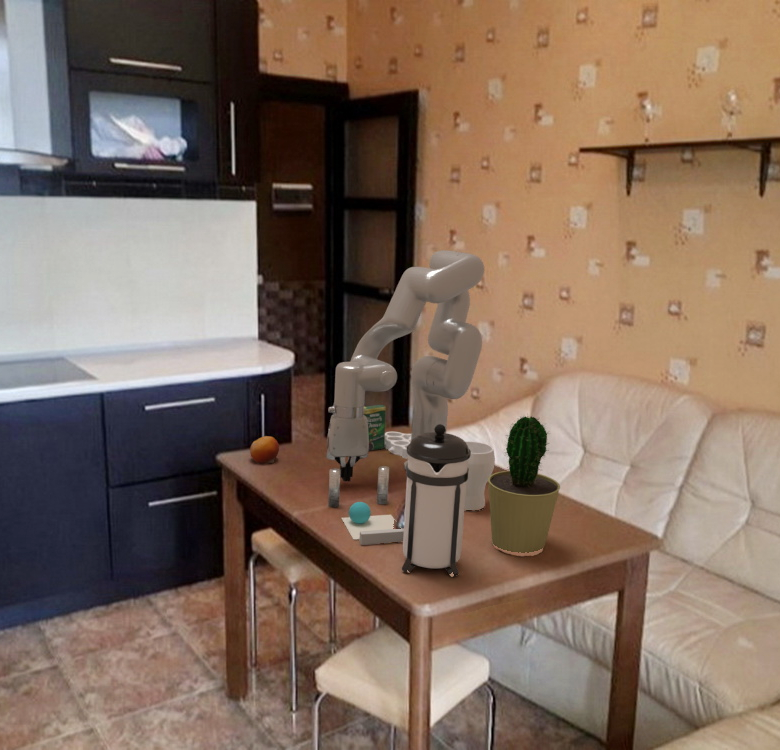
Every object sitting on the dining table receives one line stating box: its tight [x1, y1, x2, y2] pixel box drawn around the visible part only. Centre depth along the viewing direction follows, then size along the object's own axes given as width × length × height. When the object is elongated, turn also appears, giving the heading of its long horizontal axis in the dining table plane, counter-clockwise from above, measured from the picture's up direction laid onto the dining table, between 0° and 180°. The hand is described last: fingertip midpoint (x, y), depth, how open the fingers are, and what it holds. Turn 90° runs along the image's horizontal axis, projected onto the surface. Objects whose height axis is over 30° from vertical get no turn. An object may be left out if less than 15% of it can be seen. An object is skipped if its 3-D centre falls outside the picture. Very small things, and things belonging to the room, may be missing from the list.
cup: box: [464, 441, 496, 511], centre depth 200 cm, size 11×11×15 cm
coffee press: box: [401, 424, 471, 577], centre depth 167 cm, size 17×16×30 cm
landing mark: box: [340, 514, 396, 541], centre depth 185 cm, size 12×12×1 cm
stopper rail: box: [358, 527, 404, 546], centre depth 178 cm, size 12×2×2 cm, turn 106°
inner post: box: [376, 465, 390, 506], centre depth 199 cm, size 3×3×9 cm
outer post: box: [327, 467, 341, 509], centre depth 196 cm, size 3×3×9 cm
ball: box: [348, 501, 372, 524], centre depth 187 cm, size 5×5×5 cm
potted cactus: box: [487, 413, 561, 553], centre depth 176 cm, size 15×15×30 cm
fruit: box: [249, 435, 280, 464], centre depth 225 cm, size 8×8×8 cm
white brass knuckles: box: [384, 431, 412, 460], centre depth 243 cm, size 3×18×15 cm
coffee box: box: [364, 404, 387, 452], centre depth 239 cm, size 8×3×13 cm, turn 119°
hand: (346, 479), depth 210 cm, fingers closed
